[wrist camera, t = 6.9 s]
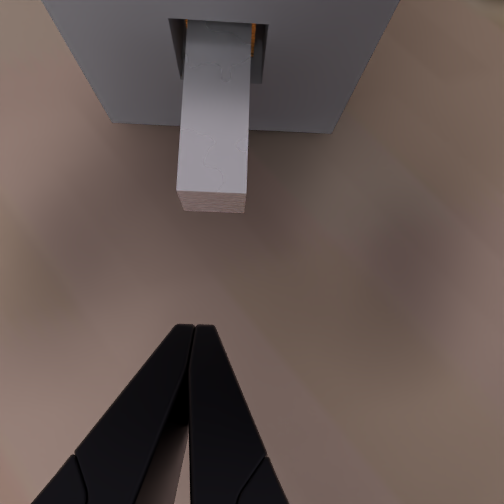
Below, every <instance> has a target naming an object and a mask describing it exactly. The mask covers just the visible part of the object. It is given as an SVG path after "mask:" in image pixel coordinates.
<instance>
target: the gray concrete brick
mask: <svg viewBox="0 0 504 504" xmlns="http://www.w3.org/2000/svg"><path fill="white" fill-rule="evenodd" d="M41 1H42V2H43V4H44V6H45V8H46V9H47V11H48V13H49V14H50V16H51V18H52V20H53V21H54V23H55V25H56V27H57V28H58V30H59V32H60V33H61V35H62V37H63V39H64V40H65V42H66V44H67V46H68V47H69V49H70V51H71V52H72V54H73V56H74V58H75V59H76V61H77V63H78V65H79V66H80V68H81V70H82V72H83V73H84V75H85V77H86V78H87V80H88V82H89V84H90V85H91V87H92V89H93V91H94V92H95V94H96V96H97V97H98V99H99V101H100V103H101V104H102V106H103V108H104V110H105V111H106V113H107V115H108V116H109V118H110V120H111V122H112V123H130V124H149V125H169V126H181V111H182V96H183V81H184V66H185V51H186V36H187V27H186V21H185V19H190V20H206V21H222V22H238V23H254V24H256V30H255V42H254V54H253V57H251V65H250V97H249V128H248V129H249V130H269V131H289V132H308V133H328V134H332V132H333V130H334V128H335V126H336V124H337V122H338V120H339V118H340V116H341V114H342V112H343V110H344V108H345V106H346V104H347V102H348V100H349V99H350V97H351V95H352V93H353V91H354V89H355V87H356V85H357V83H358V81H359V79H360V77H361V75H362V73H363V71H364V69H365V67H366V65H367V63H368V62H369V60H370V58H371V56H372V54H373V52H374V50H375V48H376V46H377V44H378V42H379V40H380V38H381V36H382V34H383V32H384V30H385V28H386V27H387V25H388V23H389V21H390V19H391V17H392V15H393V13H394V11H395V9H396V7H397V5H398V3H399V1H400V0H41Z"/></svg>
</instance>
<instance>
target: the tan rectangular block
mask: <svg viewBox="0 0 504 504" xmlns="http://www.w3.org/2000/svg"><path fill="white" fill-rule="evenodd" d="M185 21H186V27H187V36H186V51H185V66H184V81H183V96H182V111H181V126H180V141H179V156H178V171H177V187H176V191H177V194H178V196H179V199H180V201H181V204H182V206H183V209H184V211H203V212H227V213H244V211H245V202H246V191H247V160H248V128H249V97H250V65H251V57H253V54H254V42H255V30H256V24H254V23H238V22H222V21H206V20H190V19H185Z"/></svg>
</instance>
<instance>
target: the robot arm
mask: <svg viewBox="0 0 504 504" xmlns="http://www.w3.org/2000/svg"><path fill="white" fill-rule="evenodd" d="M188 433H189V461H190V504H289V502H288V500H287V498H286V495H285V493H284V491H283V489H282V487H281V484H280V482H279V480H278V478H277V475H276V473H275V471H274V468H273V466H272V463H271V461H270V458H269V457H267V452H266V449H265V447H264V444H263V442H262V439H261V437H260V435H259V432H258V430H257V427H256V425H255V422H254V420H253V417H252V415H251V413H250V410H249V408H248V405H247V403H246V400H245V398H244V396H243V393H242V391H241V388H240V386H239V383H238V381H237V379H236V376H235V374H234V371H233V369H232V366H231V364H230V361H229V359H228V357H227V354H226V352H225V349H224V347H223V344H222V342H221V340H220V337H219V335H218V332H217V330H216V327H215V326H214V325H204V324H198V325H196V327H195V326H194V325H193V324H177V325H175V326H174V327H173V328H172V330H171V331H170V332H169V333H168V335H167V336H166V337H165V338H164V340H163V341H162V342H161V343H160V345H159V346H158V347H157V349H156V350H155V351H154V352H153V354H152V355H151V356H150V357H149V359H148V360H147V361H146V362H145V364H144V365H143V366H142V367H141V369H140V370H139V371H138V372H137V374H136V375H135V376H134V377H133V379H132V380H131V381H130V382H129V384H128V385H127V386H126V387H125V389H124V390H123V391H122V392H121V394H120V395H119V396H118V397H117V399H116V400H115V401H114V402H113V404H112V405H111V406H110V407H109V409H108V410H107V411H106V412H105V414H104V415H103V416H102V417H101V419H100V420H99V421H98V422H97V424H96V425H95V426H94V427H93V429H92V430H91V431H90V432H89V434H88V435H87V436H86V437H85V439H84V440H83V441H82V442H81V444H80V445H79V446H78V447H77V449H76V450H75V452H74V453H75V455H74V454H72V455H71V456H70V457H69V458H68V459H67V461H66V462H65V463H64V465H63V466H62V467H61V468H60V470H59V471H58V472H57V473H56V475H55V476H54V477H53V478H52V479H51V480H50V482H49V483H48V484H47V485H46V486H45V488H44V489H43V490H42V491H41V492H40V494H39V495H38V496H37V497H36V498H35V499H34V501H33V502H32V503H31V504H174V501H175V496H176V491H177V486H178V482H179V477H180V472H181V467H182V463H183V458H184V453H185V448H186V444H187V439H188Z"/></svg>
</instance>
